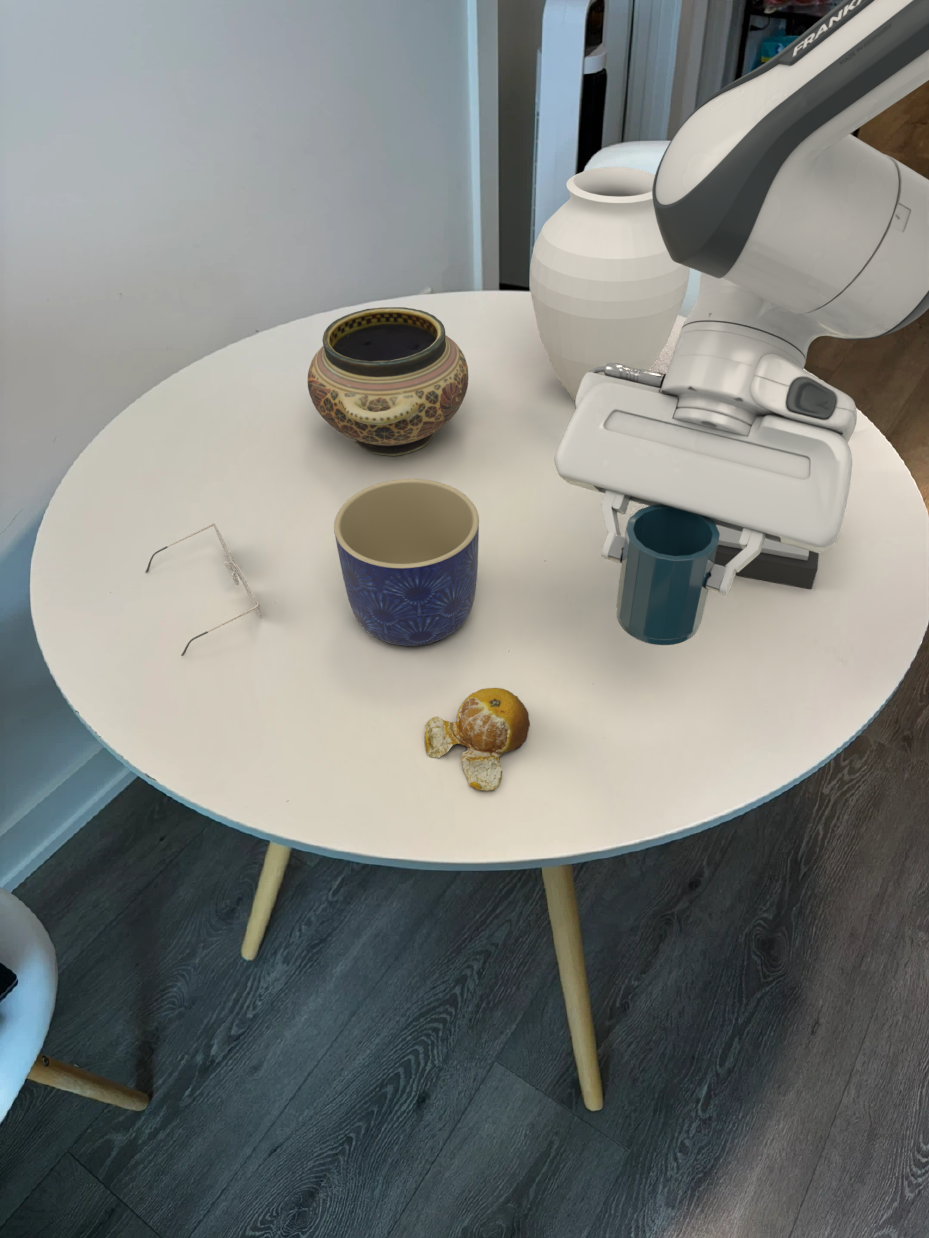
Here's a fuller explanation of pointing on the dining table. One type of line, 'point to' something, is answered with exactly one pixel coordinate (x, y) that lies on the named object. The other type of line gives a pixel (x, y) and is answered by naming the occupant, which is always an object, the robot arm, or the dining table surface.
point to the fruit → (481, 734)
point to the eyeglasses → (233, 576)
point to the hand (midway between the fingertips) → (663, 576)
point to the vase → (604, 277)
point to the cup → (665, 574)
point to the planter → (409, 559)
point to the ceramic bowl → (388, 378)
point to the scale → (770, 560)
